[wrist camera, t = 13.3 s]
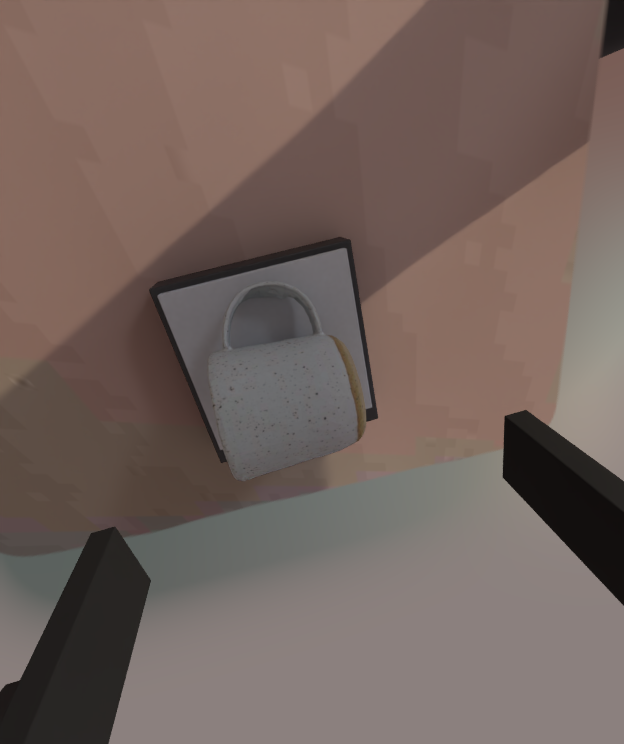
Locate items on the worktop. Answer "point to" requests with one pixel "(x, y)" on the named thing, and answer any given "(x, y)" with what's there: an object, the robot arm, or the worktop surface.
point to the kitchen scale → (264, 313)
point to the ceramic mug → (283, 394)
